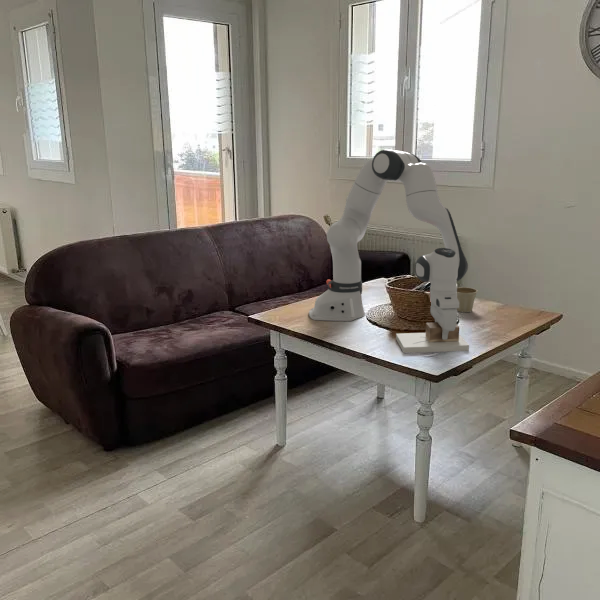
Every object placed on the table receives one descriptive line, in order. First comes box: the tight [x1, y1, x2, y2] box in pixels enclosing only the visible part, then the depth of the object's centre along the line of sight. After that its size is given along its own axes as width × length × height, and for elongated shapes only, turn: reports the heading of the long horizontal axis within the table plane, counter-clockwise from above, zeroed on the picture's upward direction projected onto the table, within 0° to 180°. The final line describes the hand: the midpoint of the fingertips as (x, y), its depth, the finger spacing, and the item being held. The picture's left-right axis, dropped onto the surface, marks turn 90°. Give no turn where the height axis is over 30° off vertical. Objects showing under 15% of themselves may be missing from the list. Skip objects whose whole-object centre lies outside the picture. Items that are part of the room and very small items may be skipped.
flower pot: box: [457, 286, 479, 313], centre depth 248 cm, size 9×9×9 cm
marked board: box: [395, 332, 470, 354], centre depth 212 cm, size 22×14×2 cm, turn 92°
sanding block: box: [425, 321, 460, 342], centre depth 211 cm, size 10×6×5 cm, turn 92°
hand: (441, 335), depth 211 cm, fingers closed on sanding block, 6 cm apart
